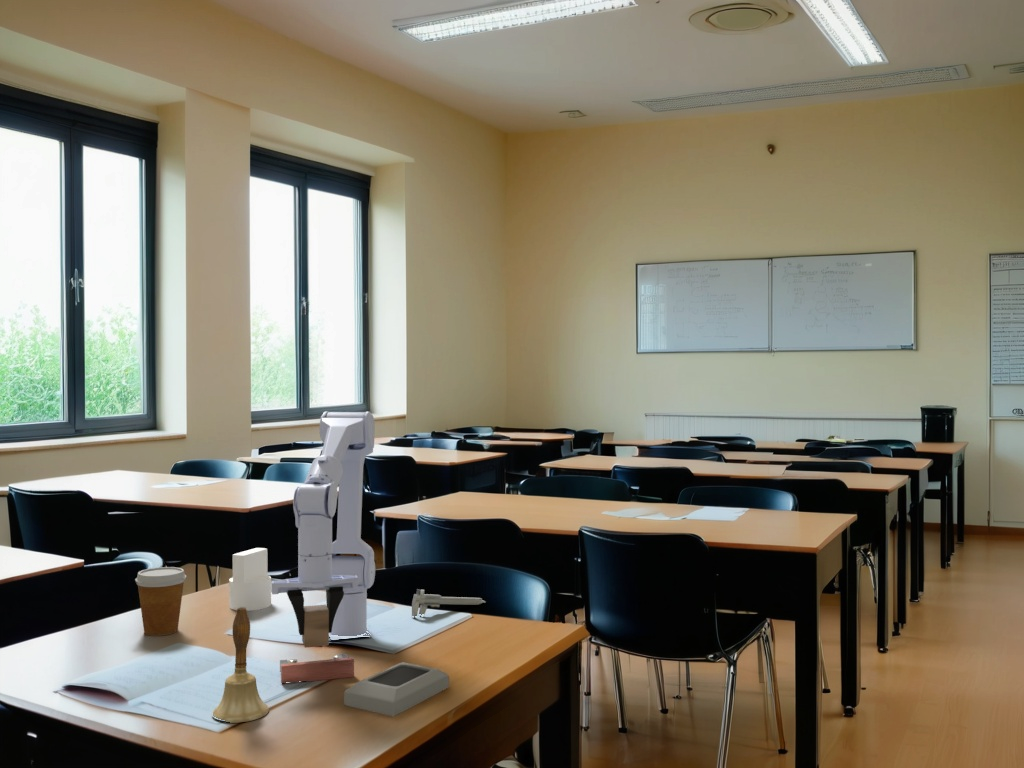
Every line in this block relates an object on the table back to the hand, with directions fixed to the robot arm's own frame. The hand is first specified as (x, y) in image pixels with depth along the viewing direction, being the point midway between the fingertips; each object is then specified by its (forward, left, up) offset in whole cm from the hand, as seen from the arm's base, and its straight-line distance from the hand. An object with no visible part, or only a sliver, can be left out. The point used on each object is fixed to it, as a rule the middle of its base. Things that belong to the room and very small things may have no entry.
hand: (315, 632), depth 159 cm
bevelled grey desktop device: (+16, +11, -8) cm, 21 cm away
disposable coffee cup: (-36, -26, -7) cm, 45 cm away
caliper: (-34, +33, -8) cm, 48 cm away
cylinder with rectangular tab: (-52, -8, -7) cm, 53 cm away
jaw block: (0, 0, -2) cm, 2 cm away
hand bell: (+15, -13, -7) cm, 22 cm away
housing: (0, 0, -7) cm, 7 cm away
